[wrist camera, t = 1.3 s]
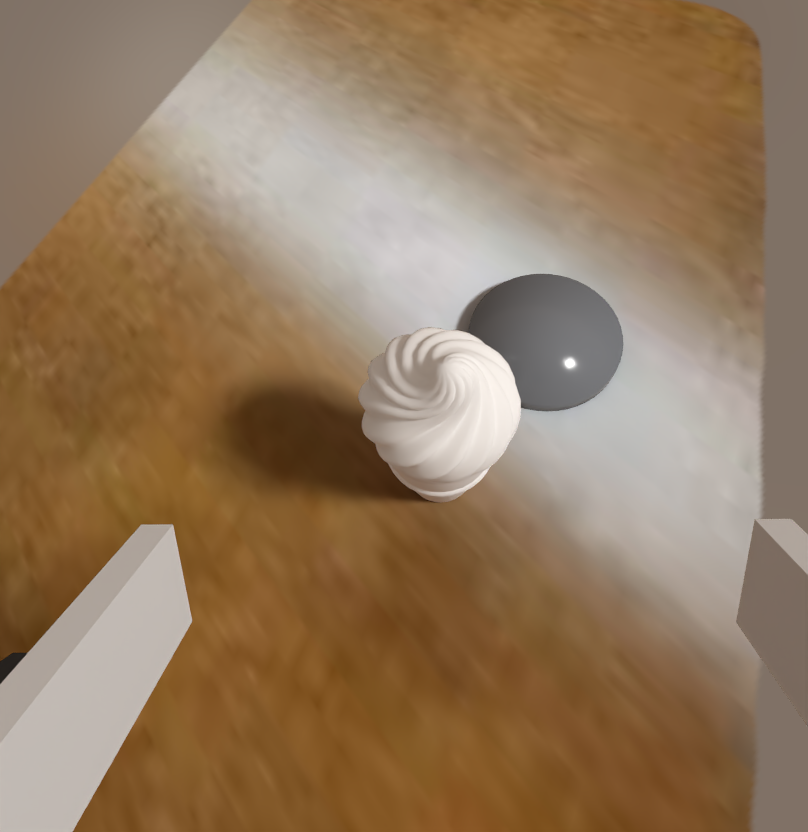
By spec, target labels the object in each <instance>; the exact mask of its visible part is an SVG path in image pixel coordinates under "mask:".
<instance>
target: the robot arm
mask: <svg viewBox="0 0 808 832" xmlns="http://www.w3.org/2000/svg"><path fill="white" fill-rule="evenodd" d="M191 622H192V618H191V613H190V608H189V603H188V598H187V593H186V588H185V583H184V577H183V572H182V567H181V562H180V557H179V552H178V547H177V542H176V537H175V532H174V527H173V524H171V525H141V526H140V527H139V528H138V529H137V530H136V531H135V532H134V533H133V535H132V536H131V537H130V538H129V539H128V540H127V541H126V542H125V544H124V545H123V546H122V547H121V548H120V549H119V550H118V552H117V553H116V554H115V555H114V556H113V557H112V558H111V559H110V561H109V562H108V563H107V564H106V565H105V566H104V567H103V569H102V570H101V571H100V572H99V573H98V574H97V575H96V576H95V578H94V579H93V580H92V581H91V582H90V583H89V584H88V585H87V587H86V588H85V589H84V590H83V591H82V592H81V593H80V595H79V596H78V597H77V598H76V599H75V600H74V601H73V602H72V604H71V605H70V606H69V607H68V608H67V609H66V610H65V612H64V613H63V614H62V615H61V616H60V617H59V618H58V619H57V621H56V622H55V623H54V624H53V625H52V626H51V627H50V629H49V630H48V631H47V632H46V633H45V634H44V635H43V636H42V638H41V639H40V640H39V641H38V642H37V643H36V644H35V645H34V647H33V648H32V649H31V650H30V651H29V652H28V653H12V654H11V655H9V656H8V657H6V658H5V659H3V660H2V661H0V832H72V831H73V830H74V828H75V826H76V824H77V823H78V821H79V819H80V817H81V816H82V814H83V812H84V810H85V809H86V807H87V805H88V803H89V802H90V800H91V798H92V796H93V795H94V793H95V791H96V789H97V787H98V786H99V784H100V782H101V780H102V779H103V777H104V775H105V773H106V772H107V770H108V768H109V766H110V765H111V763H112V761H113V759H114V758H115V756H116V754H117V752H118V751H119V749H120V747H121V745H122V744H123V742H124V740H125V738H126V737H127V735H128V733H129V731H130V730H131V728H132V726H133V724H134V723H135V721H136V719H137V717H138V715H139V714H140V712H141V710H142V708H143V707H144V705H145V703H146V701H147V700H148V698H149V696H150V694H151V693H152V691H153V689H154V687H155V686H156V684H157V682H158V680H159V679H160V677H161V675H162V673H163V672H164V670H165V668H166V666H167V665H168V663H169V661H170V659H171V658H172V656H173V654H174V652H175V650H176V649H177V647H178V645H179V643H180V642H181V640H182V638H183V636H184V635H185V633H186V631H187V629H188V628H189V626H190V624H191ZM736 623H737V624H738V625H739V627H740V628H741V630H742V631H743V633H744V634H745V636H746V637H747V639H748V640H749V642H750V643H751V644H752V646H753V647H754V649H755V650H756V652H757V653H758V655H759V656H760V658H761V659H762V661H763V662H764V663H765V665H766V666H767V668H768V669H769V671H770V672H771V674H772V675H773V676H774V678H775V680H776V681H777V682H778V684H779V685H780V687H781V688H782V690H783V691H784V693H785V694H786V696H787V697H788V699H789V700H790V702H791V703H792V704H793V706H794V707H795V709H796V710H797V712H798V713H799V715H800V716H801V717H802V719H803V721H804V722H805V723H806V725H807V726H808V535H807V534H806V533H805V532H804V531H803V530H802V529H801V528H800V527H799V526H798V525H797V524H796V523H795V522H794V521H793V520H792V519H755V521H754V527H753V532H752V538H751V543H750V549H749V554H748V560H747V565H746V571H745V576H744V582H743V587H742V593H741V598H740V604H739V609H738V615H737V620H736Z"/></svg>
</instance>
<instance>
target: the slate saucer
mask: <svg viewBox="0 0 808 832" xmlns="http://www.w3.org/2000/svg"><path fill="white" fill-rule="evenodd" d="M469 333H470V334H471V335H473V336H475V337H477V338H479V339H480V340H481V341H482V342H483V343H484V344H485V345H488V346H489V347H491V348H492V349H494V350H495V351H497V352H498V353H500V355H501V356H502V357H503V358H504V359H505V360H506V362H507V363H508V364H509V366H510V369H511V371H512V373H513V375H514V378H515V384H516V387H517V390H518V393H519V396H520V399H521V407H523V408H526V409H532V410H537V411H559V410H564V409H569V408H572V407H576V406H578V405H581V404H583V403H585V402H587V401H589V400H590V399H592V398H594V397H595V396H596V395H597V394H599V393H600V392H601V391H602V390H603V389H604V388H605V387H606V386H607V384H608V383H609V381H610V380H611V378H612V377H613V375H614V373H615V371H616V370H617V367H618V365H619V363H620V360H621V356H622V351H623V335H622V330H621V326H620V324H619V321H618V318H617V317H616V315H615V313H614V311H613V310H612V308H611V307H610V306H609V304H608V303H607V302H606V301H605V300H604V299H603V298H602V297H601V296H600V295H599V294H598V293H596V292H595V291H594V290H592V289H591V288H589V287H588V286H586V285H584V284H582V283H580V282H578V281H575V280H573V279H570V278H567V277H563V276H558V275H552V274H531V275H525V276H520V277H517V278H513V279H511V280H509V281H506V282H504V283H502V284H500V285H499V286H497V287H495V288H494V289H493V290H491V291H490V292H489V293H488V294H487V295H486V296H485V297H484V298H483V299H482V300H481V302H480V303H479V304H478V306H477V308H476V309H475V311H474V313H473V316H472V318H471V322H470V326H469Z"/></svg>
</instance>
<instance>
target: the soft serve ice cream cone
mask: <svg viewBox="0 0 808 832" xmlns="http://www.w3.org/2000/svg"><path fill="white" fill-rule="evenodd" d="M368 375H369V379H368V380H367V381H366V382H365V383H364V384H363V385H362V387H361V389H360V391H359V396H358V399H359V402H360V404H361V405H362V407H363V408H364V409H365V410H366V411H365V413H364V416H363V419H362V430H363V433H364V435H365V436H366V437H367V438H368V439H369V440H371V441H372V442H373V443H375V444H376V449H377V452H378V454H379V455H380V457H381V458H382V459H383V460H384V461H385V462H387V463H388V465H389V466H390V468H391V470H392V472H393V473H394V475H395V476H396V477H397V478H398V479H399V480H400V481H401V482H402V483H403V484H404V485H406V486H407V487H408V488H410V489H412V490H414V491H416V492H417V493H418V494H419V495H420V496H422V497H423V498H425V499H427V500H429V501H433V502H448V501H451V500H454V499H456V498H458V497H459V496H460V495H462V494H463V493H464V492H465V491H466V490H468V489H470V488H472V487H473V486H475V485H476V484H477V483H478V482H479V481H480V480H481V479H482V478H483V477H484V476H485V474H486V473H487V472H488V470H489V468H490V466H492V465H493V464H495V463H496V461H497V460H498V459H499V458H500V457H501V456H502V454H503V453H504V452H505V450H506V448H507V446H508V443H509V442H510V441H511V439H512V437H513V436H514V434H515V432H516V430H517V427H518V424H519V420H520V417H521V399H520V396H519V393H518V390H517V387H516V384H515V378H514V375H513V373H512V371H511V369H510V366H509V364H508V363H507V362H506V360H505V359H504V358H503V357H502V356H501V355H500V353H498V352H497V351H495V350H494V349H492V348H491V347H489V346H488V345H485V344H484V343H483V342H482V341H481V340H480V339H479V338H477V337H475V336H473V335H471V334H470V333H467V332H463V331H459V330H448V331H446V330H443V329H441V328H433V327H428V328H423V329H419V330H417V331H416V332H414V333H413V334H411V335H402V336H399V337H396V338H394V339H393V340H392V341H391V342H390V343H389V344H388V346H387V348H386V352H385V353H382V354H381V355H379V356H377V357H376V358H374V359H373V360H372V361H371V363H370V365H369V367H368Z"/></svg>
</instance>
